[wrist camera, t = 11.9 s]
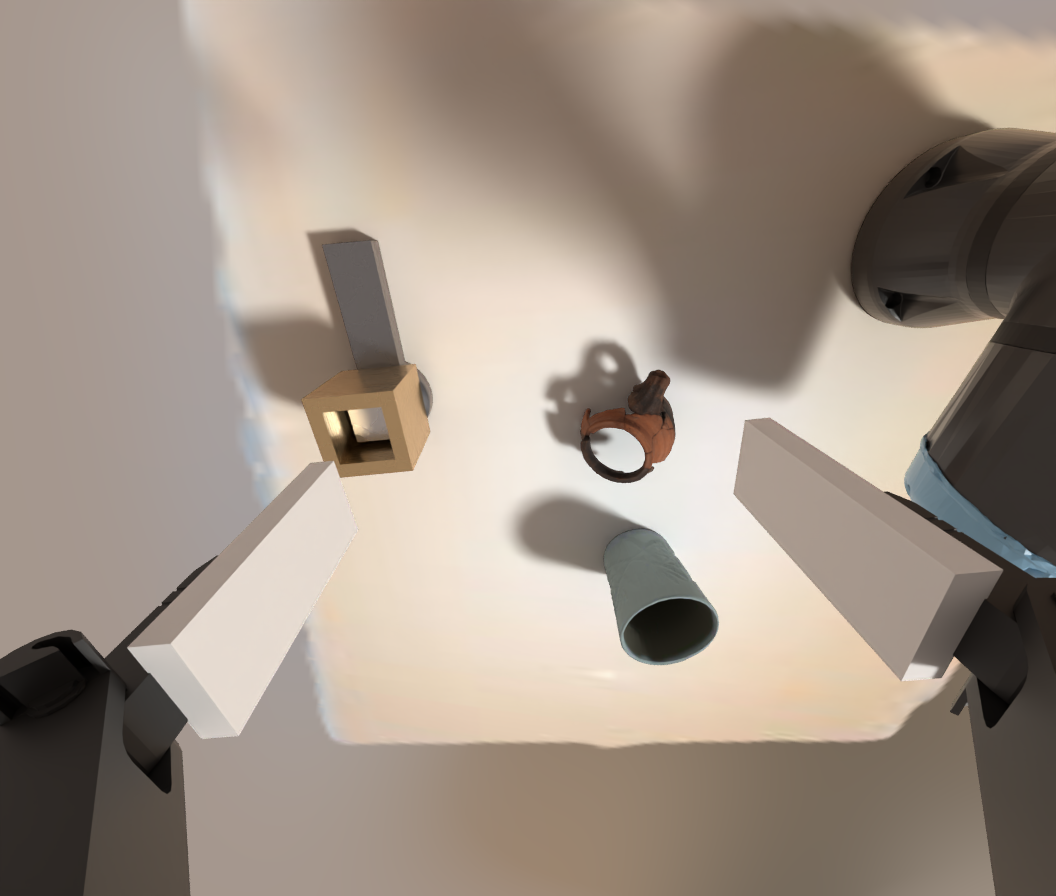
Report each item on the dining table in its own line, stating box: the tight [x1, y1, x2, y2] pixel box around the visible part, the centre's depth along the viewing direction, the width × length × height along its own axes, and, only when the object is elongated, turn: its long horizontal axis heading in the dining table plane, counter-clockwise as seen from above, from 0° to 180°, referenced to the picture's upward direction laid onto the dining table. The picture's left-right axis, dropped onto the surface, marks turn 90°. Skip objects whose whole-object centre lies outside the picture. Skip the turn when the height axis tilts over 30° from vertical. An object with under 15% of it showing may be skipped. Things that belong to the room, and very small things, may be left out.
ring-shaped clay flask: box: [580, 370, 675, 483], centre depth 40 cm, size 12×10×8 cm
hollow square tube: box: [301, 364, 430, 478], centre depth 35 cm, size 7×7×8 cm
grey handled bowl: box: [322, 240, 433, 442], centre depth 35 cm, size 8×18×7 cm, turn 5°
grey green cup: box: [604, 529, 719, 665], centre depth 46 cm, size 10×10×12 cm
